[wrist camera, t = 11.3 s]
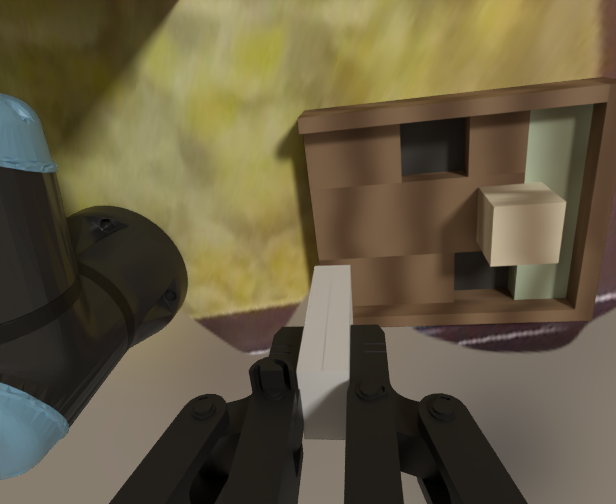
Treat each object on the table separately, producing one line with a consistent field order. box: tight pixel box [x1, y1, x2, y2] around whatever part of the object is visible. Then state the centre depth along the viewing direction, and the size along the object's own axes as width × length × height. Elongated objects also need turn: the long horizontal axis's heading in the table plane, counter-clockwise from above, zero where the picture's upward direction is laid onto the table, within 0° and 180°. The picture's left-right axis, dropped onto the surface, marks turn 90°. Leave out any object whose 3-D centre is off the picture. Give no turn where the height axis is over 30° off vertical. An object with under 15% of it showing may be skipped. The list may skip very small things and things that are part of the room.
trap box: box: [297, 77, 616, 327], centre depth 39 cm, size 24×20×4 cm
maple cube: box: [476, 182, 566, 267], centre depth 36 cm, size 5×5×5 cm
